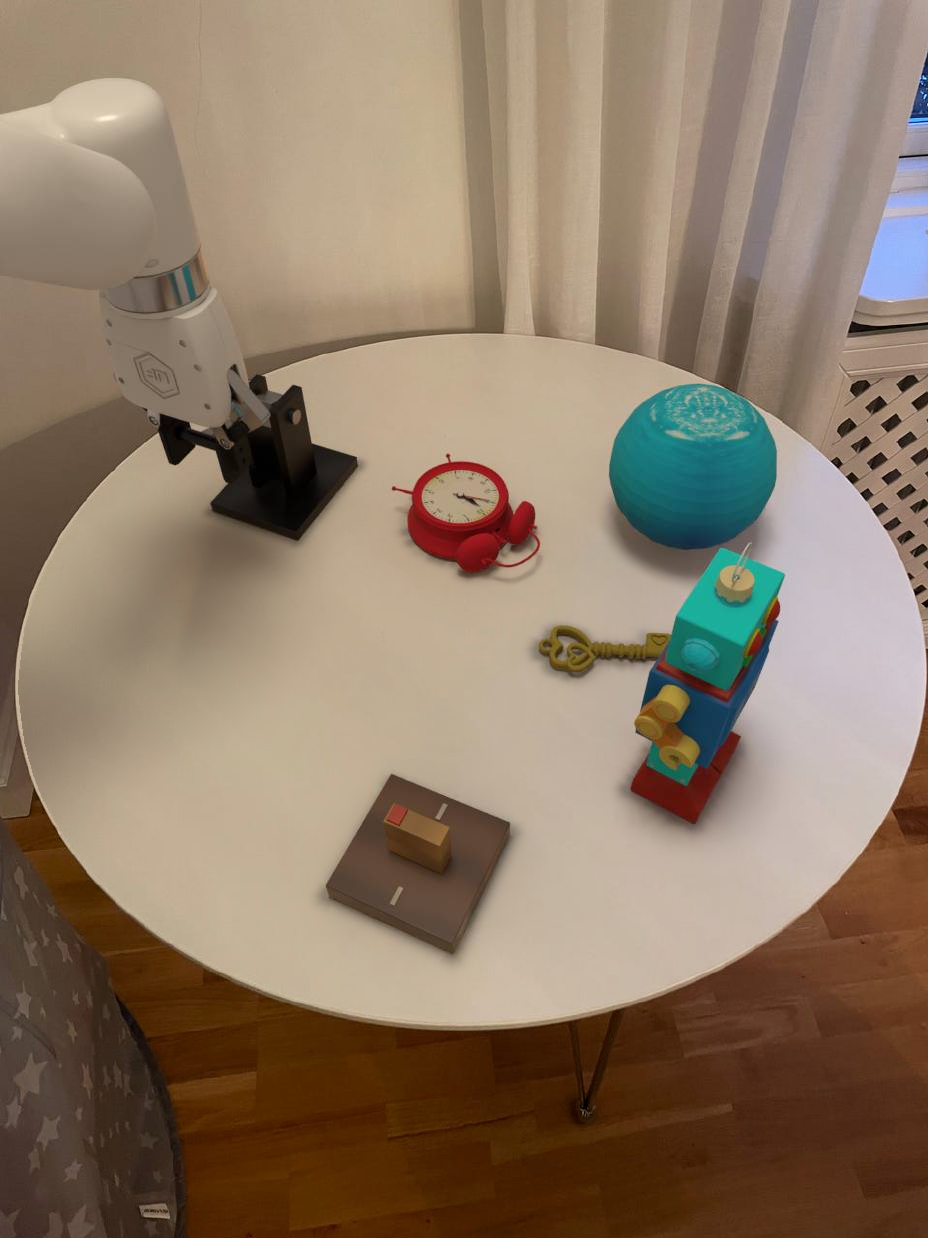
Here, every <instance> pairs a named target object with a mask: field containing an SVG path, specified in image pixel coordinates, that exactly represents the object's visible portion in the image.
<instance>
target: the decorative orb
mask: <svg viewBox="0 0 928 1238" xmlns="http://www.w3.org/2000/svg"><path fill="white" fill-rule="evenodd" d="M609 459H610V460H609V465H608V477H609V485H610V488H611V491H612V494H613V498H614V502H615V503H616V507H617V508H618V510H619V511H620V513H621V514H622V515H623V517H624V518H625V519H626V520H627V522H628V523H629V524H630V525H631V527H632V528H633V529H634V530H635V531H637V532H638V533H640V534H642V536H644V537H645V538H647V539H649V540H650V541H651V542H654V543H656V544H659V545H661V546H664V547H667V548H671V549H677V550H685V551H692V550H702V549H703V550H704V549H709V548H713V547H716V546H719V545H722V544H724V543H727V542H729V541H731V540H733V539H736V537H738V536H739V535H740V534H741V533H743V532H744V531H746V530H747V529H748V528H749V527H751V526H752V525H753V524H754V523H755V522H756V521H757V520H758V519H759V517H760V516H761V515H762V513H763V511H764V509H765V507H766V505H768V502H769V501H770V498H771V496H772V495H773V492H774V490H775V486H776V482H777V476H778V475H777V474H778V473H777V472H778V449H777V445H776V441H775V439H774V437H773V434H772V432H771V430H770V428H769V426H768V423H767V421H766V420H765V417H764V416H763V415H762V414H761V413H760V411H758V409H756V407H754V406H753V404H751V402H749V400H747V399H745V398H744V397H743V396H741V395H739V394H737V393H735V392H734V391H732V390H730V389H727V388H724V387H721V386H719V385H715V384H706V383H688V384H687V383H686V384H680V385H676V386H673V387H669V388H666V389H663V390H660V391H658V392H657V393H655V394H653V395H652V396H651V397H649V398H647V399H646V400H644V401H642V402H640V404H639V405H637V406H636V408H634V409H633V411H631V413H630V415H629V416H628V417H627V419H626V420H625V421H624V423H623V424H622V425H621V427H620V428H619V429H618V431H617V433H616V435H615V438H614V440H613V445H612V449H611V454H610V458H609Z"/></svg>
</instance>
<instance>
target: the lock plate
mask: <svg viewBox="0 0 928 1238" xmlns="http://www.w3.org/2000/svg"><path fill="white" fill-rule="evenodd" d="M394 803H395V804H397V805H400V806H402V807H404V808H407V809H409V810H411V811H414V812H416V813H418V814H421V815H423V816H425V817H428V818H430V819H432V820H434V821H437V822H439V823H441V824H444V825H446V826H448V827H450V839H451V858H450V860H449V862H448V864H447V866H446V868H445V869H444V871H443V873H442V874H441V873H438V872H436V871H434V870H432V869H429V868H427V867H425V866H423V865H421V864H418V863H416V862H414V861H412V860H409V859H407V858H405V857H403V856H401V855H398V854H396V853H394V852H392V851H389V850H388V845H387V840H386V834H385V828H384V822H383V821H384V819H385V817H386V816H387V814H388V812H389V810H390V809H391V807H392V805H393V804H394ZM510 833H511V822H510V821H508V820H505V819H502V818H500V817H497V816H496V815H493V814H490V813H488V812H486V811H483V810H482V809H481V810H480V809H478V808H476V807H474V806H471V805H469V804H466V803H464V802H461V801H459V800H457V799H454V798H451V797H449V796H446V795H444V794H441V793H439V792H437V791H434V790H432V789H430V788H427V787H425V786H422V785H420V784H417V783H415V782H412V781H410V780H409V779H406V778H403V777H401V776H398V775H396V774H393V773H390V775H389V777H388V778H387V780H386V782H385V784H384V785H383V787H382V788H381V790H380V791H379V793H378V795H377V797H376V799H375V800H374V802H373V804H372V805H371V807H370V809H369V811H368V812H367V815H366V816H365V817H364V819H363V821H362V822H361V824H360V826H359V828H358V829H357V831H356V833H355V835H354V836H353V838H352V839H351V841H350V843H349V845H348V847H347V848H346V850H345V852H344V853H343V855H342V857H341V859H340V860H339V862H338V863H337V865H336V867H335V868H334V870H333V872H332V874H331V875H330V877H329V879H328V881H327V882H326V884H325V888H326V892H327V894H328V897H329V898H330V899H333V900H335V901H337V902H339V903H341V904H343V905H346V906H347V907H350V908H352V909H353V910H354V909H355V910H356V911H358V912H360V913H363V914H365V915H367V916H369V917H371V918H373V919H376V920H378V921H380V922H383V923H384V924H386V925H388V926H391V927H393V928H396V929H397V930H399V931H402V932H404V933H406V934H408V935H410V936H412V937H415V938H417V939H419V940H421V941H423V942H425V943H428V944H429V945H432V946H434V947H435V948H439V949H440V950H442V951H445V952H447V953H448V954H451V955H453V954H454V953H455V952H456V949H457V947H458V945H459V943H460V941H461V938H462V937H463V935H464V933H465V930H466V929H467V926H468V924H469V922H470V919H471V917H472V916H473V913H474V912H475V909H476V907H477V905H478V903H479V901H480V899H481V896H482V894H483V892H484V890H485V888H486V886H487V883H488V882H489V879H490V878H491V876H492V873H493V871H494V869H495V867H496V865H497V863H498V861H499V858H500V856H501V854H502V852H503V849H504V848H505V846H506V843H507V841H508V839H509V837H510V835H511V834H510Z"/></svg>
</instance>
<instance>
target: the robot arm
mask: <svg viewBox="0 0 928 1238" xmlns="http://www.w3.org/2000/svg"><path fill="white" fill-rule="evenodd" d="M0 276H3V277H8V278H14V279H17V280H18V279H20V280H25V281H28V282H29V281H30V282H35V283H40V284H41V283H44V284H48V285H53V286H59V287H65V288H72V289H78V290H86V291H87V290H88V291H98V303H99V314H100V320H101V326H102V330H103V335H104V341H105V344H106V347H107V351H108V355H109V359H110V362H111V365H112V369H113V374H112V378H113V379H114V381H115V382H116V383H117V384H118V387H119V389H120V391H121V393H122V395H123V397H124V398H125V399H126V400H127V401H129V402H130V403H132V404H133V405H136V406H138V407H140V408H142V409H143V410H144V411H145V413H146V415H147V416H146V417H147V421H148V422H149V424H151V426H153V427H155V428H157V432H158V435H159V438H160V442H161V444H162V447H163V450H164V453H165V456H166V459H167V462H168V464H169V465H172V466H177V465H180V463H181V462H182V461H184V460H185V458H186V457H187V456H189V454H190V453H191V452H192V451H193V450H195V448H196V446H197V445H195V444H192V443H189V442H186V441H183V440H179V439H177V438H176V436H175V431H176V429H177V427H178V426H185V427H188V428H191V429H192V426H191V424H194V425H196V426H201V427H205V428H211V429H212V431H213V433H214V435H215V436H216V438H217V440H218V442H219V444H218V445H217V446H216V448H215V451H214V452H215V455H216V458H217V462H218V463H219V464H218V465H219V468H220V471H221V475H222V478H223V479H222V480H223V481H224V482H225V483H226V484H228V483H229V484H233V483H234V482H235V481H236V479H237V478H238V477H239V476H240V475H241V474H242V473H243V472H244V471H245V470H246V469H247V468H248V467H249V465H250V457H249V453H248V449H247V445H246V441H245V437H244V436H246V435H247V433H249V432H251V431H253V430H255V429H257V428H259V427H260V426H262V425H263V424H264V423H265V422H266V420H267V419H268V418H269V417H270V412H269V411H268V409H267V408H266V407H265V406H264V405H263V404H262V402H261V401H260V400H259V399H258V398H257V397H256V395H255V394H254V393H253V392H252V391H251V390H250V388H249V377H248V372H247V369H246V365H245V361H244V357H243V354H242V351H241V347H240V343H239V340H238V338H237V336H236V335H237V334H236V332H235V329H234V326H233V324H232V322H231V319H230V316H229V314H228V312H227V310H226V307H225V304H224V302H223V300H222V297H221V296H220V294H219V292H218V289H217V288H215V287H214V286H212V285H211V284H212V283H211V280H210V279H211V278H210V276H209V271H208V267H207V263H206V259H205V255H204V250H203V246H202V242H201V239H200V234H199V230H198V227H197V223H196V218H195V214H194V210H193V205H192V202H191V197H190V193H189V190H188V185H187V181H186V177H185V174H184V169H183V166H182V162H181V158H180V153H179V149H178V145H177V141H176V137H175V133H174V129H173V125H172V121H171V118H170V114H169V110H168V107H167V105H166V104H165V101H164V100H163V98H162V97H161V95H160V94H159V93H158V91H156V90H155V88H153V87H151V86H150V85H148V84H147V83H144V82H142V81H140V80H136V79H131V78H125V77H104V78H96V79H90V80H87V81H86V80H85V81H83V82H79V83H77V84H74V85H72V86H69V87H67V88H66V89H65V88H64V89H63V90H62V91H61V92H59V93H58V94H57V95H56V96H55V97H54V98H53V99H52V100H51V101H49V102H46V103H42V104H39V105H35V106H31V107H28V108H27V107H26V108H23V109H19V110H14V111H9V112H4V113H0ZM243 414H244V415H243ZM228 419H230V420H231V422H232V425H231V426H230V427H229V428H228V429H227V427H226V425H225V422H226V421H227V420H228Z"/></svg>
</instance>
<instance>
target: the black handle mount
mask: <svg viewBox="0 0 928 1238" xmlns="http://www.w3.org/2000/svg"><path fill="white" fill-rule="evenodd" d="M248 382H249V388H250V390H251V391H252V392H253V393H254V394H255V395H256V396H257V395H259V394H262V393H264V392H266V391H268V390H269V387H268V382H267V377H266V376H265V375H261V374H258V373H256V374H255V375H254V376H253V377H252V378H251V379H250V380H248ZM282 394H283V395H282V396H281V398H280V399H279V400H278V401H277V402H276V403H275V404H274V405H273V406H272V407H271V408H270V409H269V410H268V411H269V412H270V417H269V420H270V425H271V428H269V427H266V426H263V425H262V426H260V427H259V428H257V429H255V430H253V431H251V432H249V433H247V435H246V436H244V437H245V441H246V445H247V449H248V453H249V457H250V465H249V467H248V468H247V469H246V470H245V471H244V472H243V473H242V474H241V475H240V476H239V477H238V478H237V479H236V481H235V482H234V483H233V484H229V483H226V485H225V486H224V487H223V488H222V489H220V491H219V492H218V493H217V495H216V496H214V498H213V499H212V500H211V501H210V503H209V504H210V507H211V511H212V512H214V513H216V514H218V515H222V516H225V517H228V518H231V519H234V520H237V521H239V522H242V523H246V524H249V525H251V526H254V527H257V528H260V529H263V530H266V531H269V532H272V533H274V534H278V535H280V536H283V537H287V538H288V539H289V538H290V539H292V540H295V541H299V540H300V539H301V538H302V536H303V535H304V534H305V532H307V530H308V529H309V528H310V527H311V525H312V524H313V523H314V521H315V520H316V519H317V517H319V515H320V514H321V513H322V511H323V510H324V509H325V508H326V506H327V505H328V504H329V502H330V501H331V500H332V499H333V498H334V496H335V495H336V494H337V492H338V491H340V489H341V488H342V486H344V484H345V483H346V481H347V480H348V479H349V478H350V476H351V475H352V474H353V473H354V471H355V470H356V469H357V467H358V466H359V464H358V458H357V456H354V455H351V454H349V453H345V452H342V451H339V450H335V449H332V448H329V447H326V446H322V445H320V444H316V443H312V437H311V432H310V425H309V420H308V415H307V409H306V403H305V398H304V393H303V387H302V386H300V385H297V384H292V385H291V386H290V387H289V388H288V389H287V390H286V391H285V392H284V393H282Z"/></svg>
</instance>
